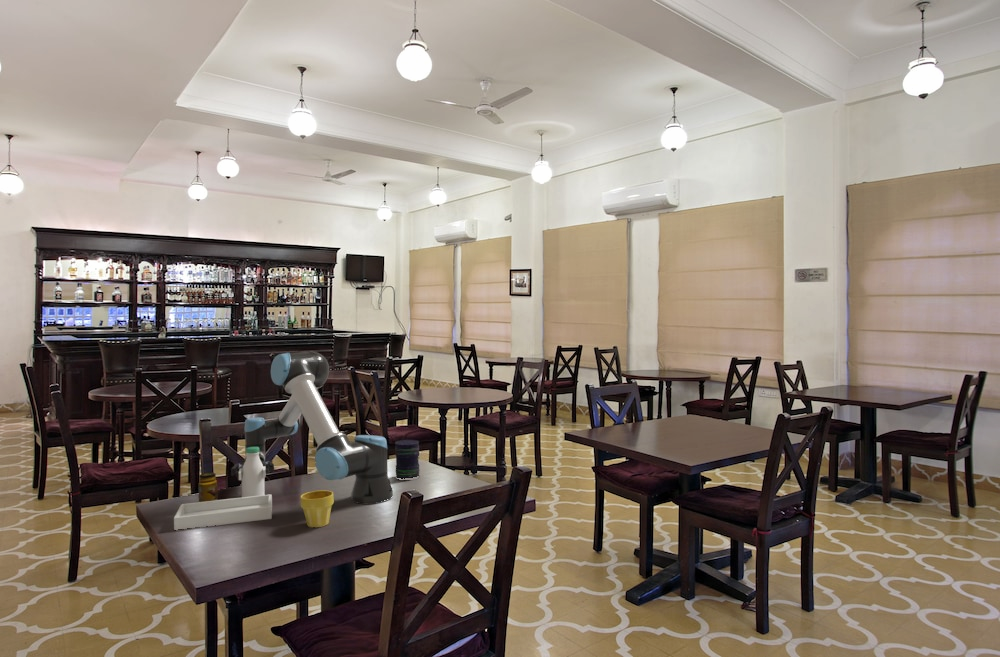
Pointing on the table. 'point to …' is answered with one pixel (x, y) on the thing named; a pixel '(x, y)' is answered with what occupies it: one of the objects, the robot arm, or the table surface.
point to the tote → (223, 512)
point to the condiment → (207, 487)
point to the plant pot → (317, 507)
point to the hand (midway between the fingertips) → (252, 475)
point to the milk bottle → (252, 474)
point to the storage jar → (407, 458)
